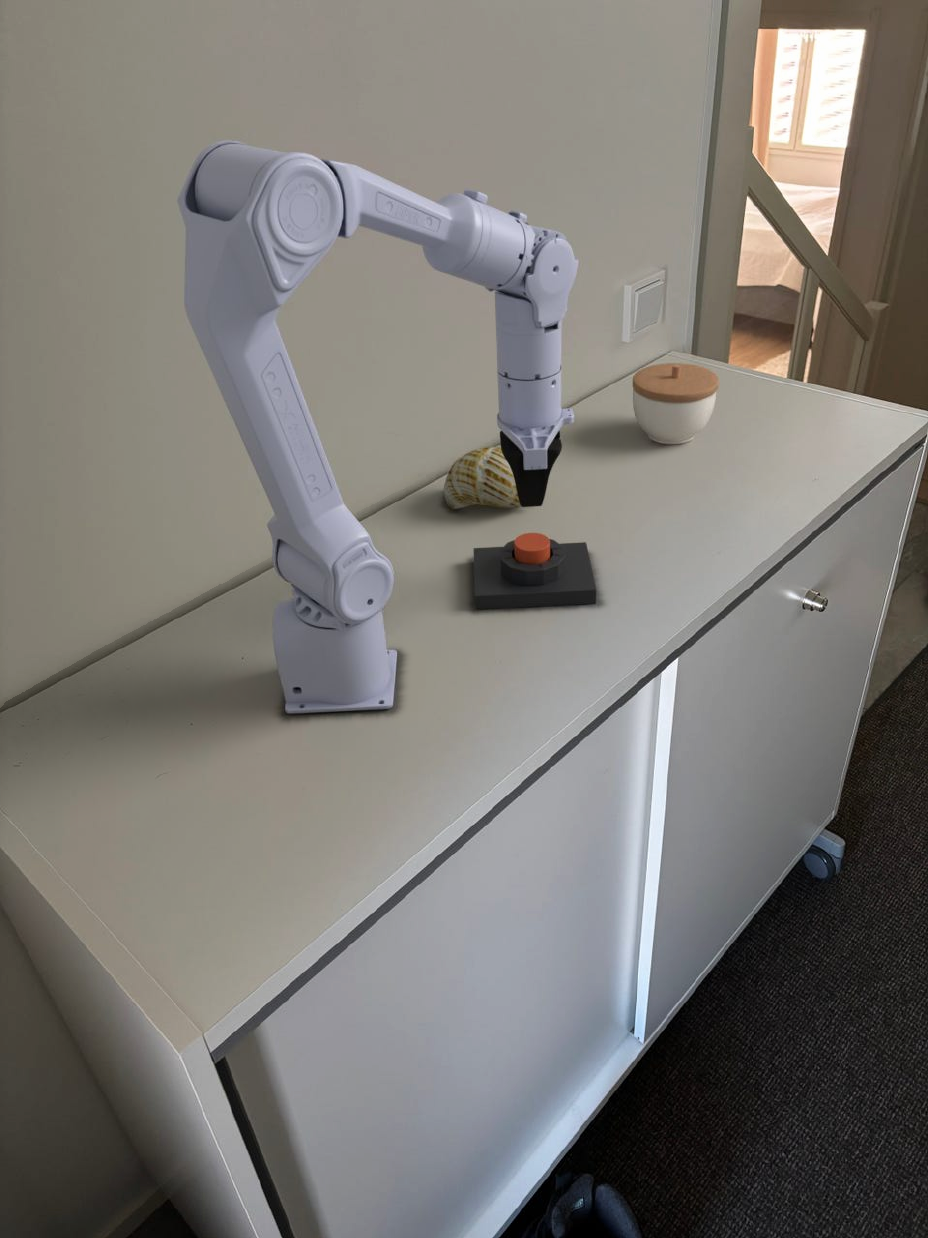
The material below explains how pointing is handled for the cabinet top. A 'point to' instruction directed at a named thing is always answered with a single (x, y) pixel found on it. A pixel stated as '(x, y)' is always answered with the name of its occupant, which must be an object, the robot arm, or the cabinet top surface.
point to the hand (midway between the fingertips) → (531, 503)
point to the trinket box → (674, 401)
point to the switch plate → (533, 578)
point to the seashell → (481, 480)
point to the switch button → (532, 548)
